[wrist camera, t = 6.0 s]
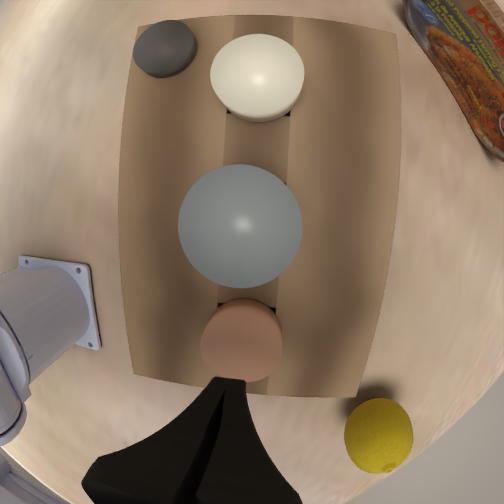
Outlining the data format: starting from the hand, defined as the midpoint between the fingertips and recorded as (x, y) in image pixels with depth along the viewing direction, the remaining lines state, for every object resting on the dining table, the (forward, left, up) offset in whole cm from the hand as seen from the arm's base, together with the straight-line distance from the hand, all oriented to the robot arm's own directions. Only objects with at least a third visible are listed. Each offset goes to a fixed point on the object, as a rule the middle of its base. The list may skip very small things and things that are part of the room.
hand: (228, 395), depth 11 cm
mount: (0, +7, -10) cm, 12 cm away
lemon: (+11, -9, -10) cm, 17 cm away
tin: (+15, +19, -10) cm, 26 cm away
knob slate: (0, +7, -6) cm, 9 cm away
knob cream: (0, +14, -9) cm, 17 cm away
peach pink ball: (0, 0, -9) cm, 9 cm away
